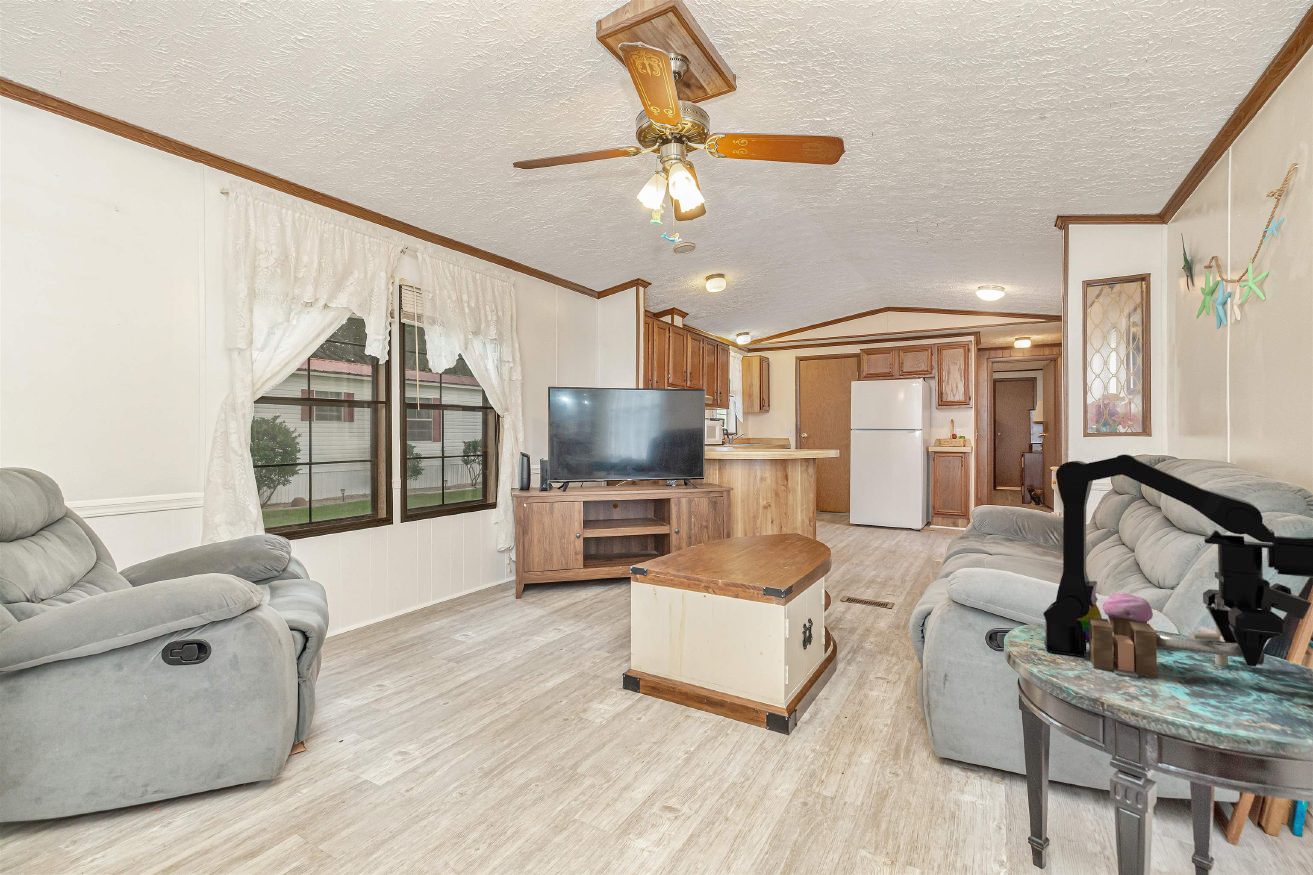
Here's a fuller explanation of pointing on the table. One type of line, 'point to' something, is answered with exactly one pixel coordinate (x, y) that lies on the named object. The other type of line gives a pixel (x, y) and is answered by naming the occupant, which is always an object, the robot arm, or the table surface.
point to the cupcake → (1126, 611)
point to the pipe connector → (1214, 636)
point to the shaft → (1201, 646)
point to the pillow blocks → (1139, 635)
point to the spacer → (1123, 652)
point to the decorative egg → (1093, 613)
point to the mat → (1124, 672)
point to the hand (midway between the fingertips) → (1241, 657)
